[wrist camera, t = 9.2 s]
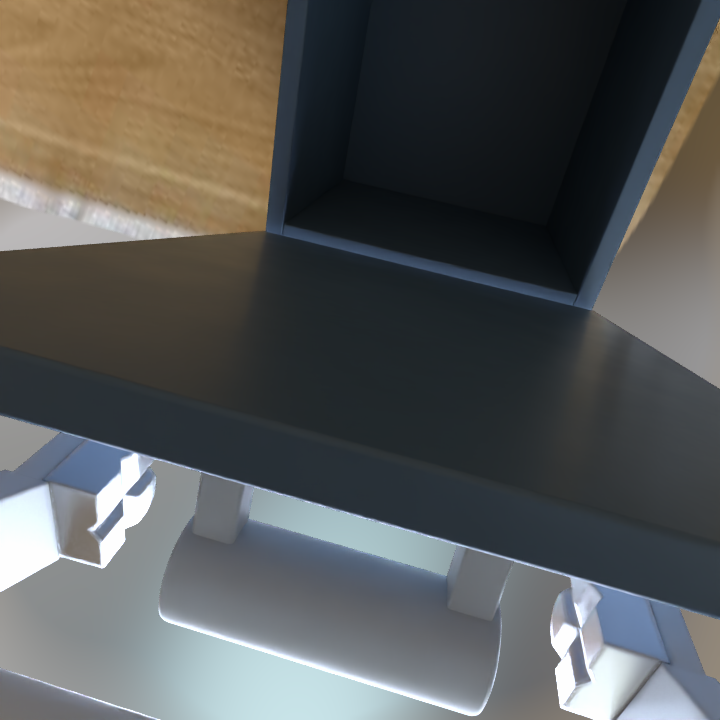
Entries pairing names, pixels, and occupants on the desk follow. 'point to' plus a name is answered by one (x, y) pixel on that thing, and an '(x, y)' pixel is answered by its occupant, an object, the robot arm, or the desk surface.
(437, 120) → the chest
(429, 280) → the lid
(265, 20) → the desk surface
